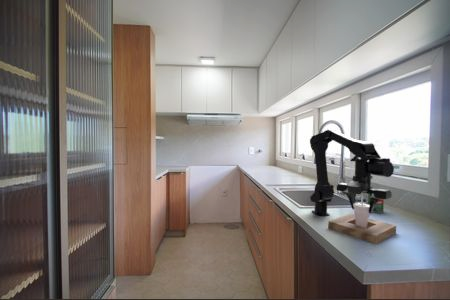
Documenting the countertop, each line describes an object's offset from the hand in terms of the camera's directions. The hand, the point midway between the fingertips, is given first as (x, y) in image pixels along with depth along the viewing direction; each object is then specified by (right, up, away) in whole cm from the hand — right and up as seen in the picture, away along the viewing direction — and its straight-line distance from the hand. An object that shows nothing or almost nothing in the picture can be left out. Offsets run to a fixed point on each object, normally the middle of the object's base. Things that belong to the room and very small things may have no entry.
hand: (361, 211), depth 93 cm
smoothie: (0, -7, 0) cm, 7 cm away
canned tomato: (+24, -7, +28) cm, 38 cm away
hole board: (0, -8, 0) cm, 8 cm away
